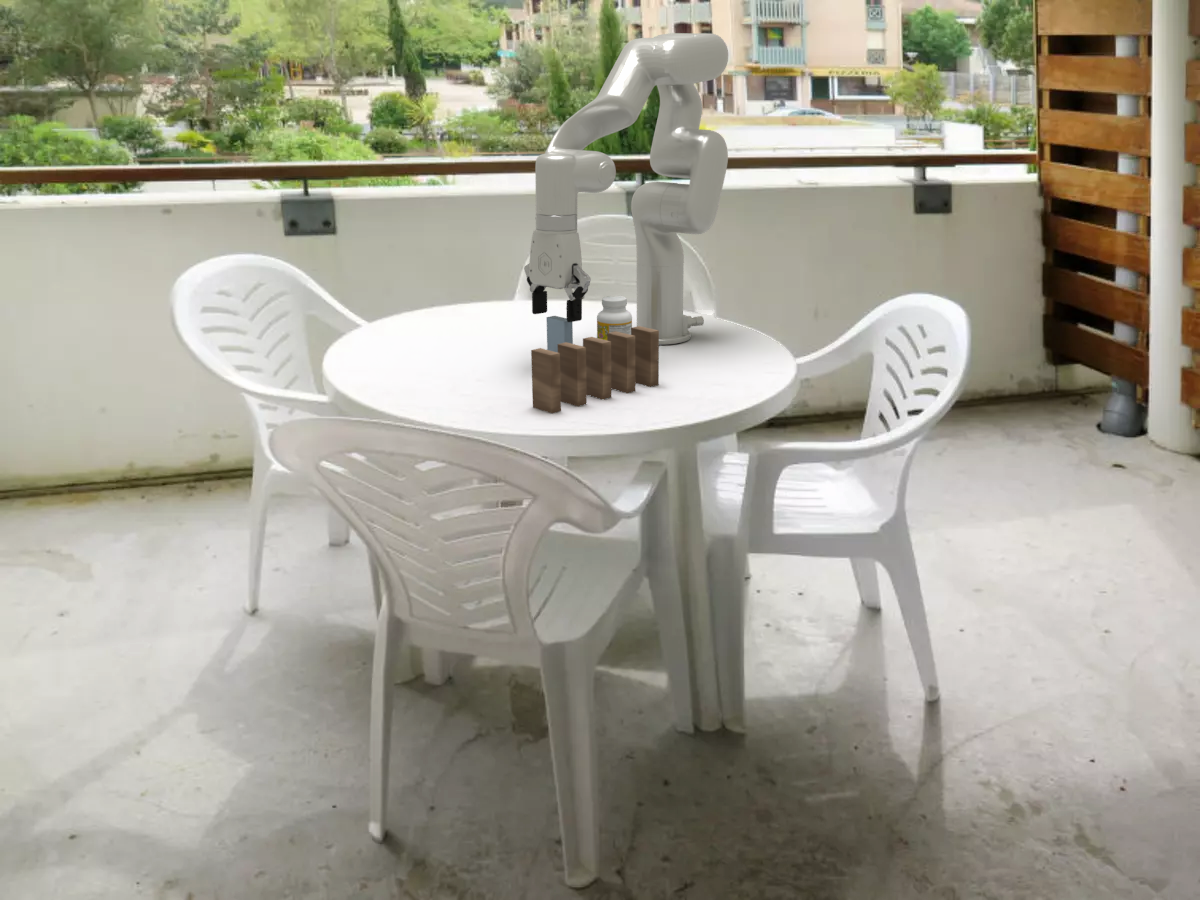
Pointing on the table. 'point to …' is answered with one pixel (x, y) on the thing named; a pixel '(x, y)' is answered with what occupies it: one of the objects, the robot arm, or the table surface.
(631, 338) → the domino
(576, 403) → the domino
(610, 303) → the supplement bottle
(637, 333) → the domino
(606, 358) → the domino
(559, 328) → the domino
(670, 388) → the table surface
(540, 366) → the domino
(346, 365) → the table surface
